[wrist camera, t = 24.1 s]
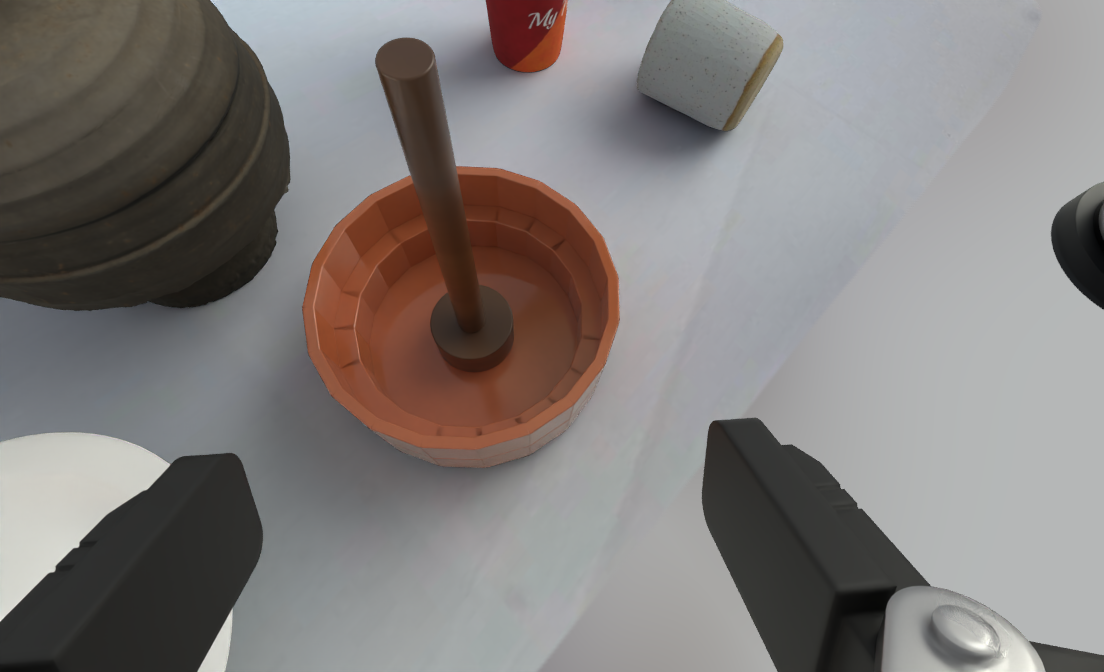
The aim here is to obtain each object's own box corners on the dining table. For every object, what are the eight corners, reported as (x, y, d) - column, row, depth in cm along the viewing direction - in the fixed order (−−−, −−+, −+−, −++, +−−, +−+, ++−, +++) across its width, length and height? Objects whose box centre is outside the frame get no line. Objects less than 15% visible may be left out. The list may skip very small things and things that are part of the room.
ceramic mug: (722, 157, 39) (765, 70, 32) (626, 110, 41) (648, 17, 34) (774, 73, 43) (823, -21, 36) (685, 33, 45) (716, -66, 38)
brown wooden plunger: (451, 293, 34) (355, -18, 15) (523, 311, 33) (514, 17, 15) (425, 361, 32) (282, 102, 13) (501, 381, 32) (461, 144, 13)
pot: (401, 229, 35) (201, -106, 16) (174, 420, 31) (-425, 268, 13) (252, 88, 40) (-37, -297, 21) (39, 239, 36) (-542, -66, 17)
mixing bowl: (561, 208, 37) (567, 142, 31) (639, 425, 32) (664, 395, 26) (329, 260, 35) (287, 200, 29) (367, 504, 29) (325, 492, 23)
